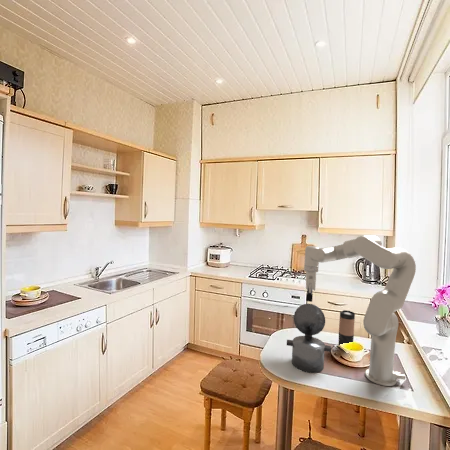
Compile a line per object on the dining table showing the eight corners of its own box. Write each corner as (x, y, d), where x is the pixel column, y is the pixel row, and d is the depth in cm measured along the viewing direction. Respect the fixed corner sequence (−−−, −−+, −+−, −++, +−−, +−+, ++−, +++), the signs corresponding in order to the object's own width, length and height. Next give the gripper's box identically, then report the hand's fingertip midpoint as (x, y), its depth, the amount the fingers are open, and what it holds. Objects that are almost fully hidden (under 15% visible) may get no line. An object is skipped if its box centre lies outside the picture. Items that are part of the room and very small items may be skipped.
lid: (324, 339, 150) (324, 337, 153) (325, 305, 152) (325, 305, 155) (292, 334, 154) (293, 333, 157) (294, 302, 156) (294, 301, 159)
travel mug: (354, 352, 159) (356, 315, 157) (339, 350, 160) (341, 314, 159) (351, 345, 166) (353, 310, 165) (336, 344, 168) (338, 309, 166)
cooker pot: (328, 358, 151) (329, 337, 150) (330, 376, 135) (332, 353, 134) (287, 352, 157) (288, 332, 156) (284, 368, 141) (285, 346, 140)
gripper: (318, 272, 156) (316, 306, 157) (317, 266, 170) (315, 297, 172) (303, 270, 158) (301, 304, 159) (304, 265, 172) (302, 296, 174)
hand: (309, 300), depth 165 cm, fingers closed
